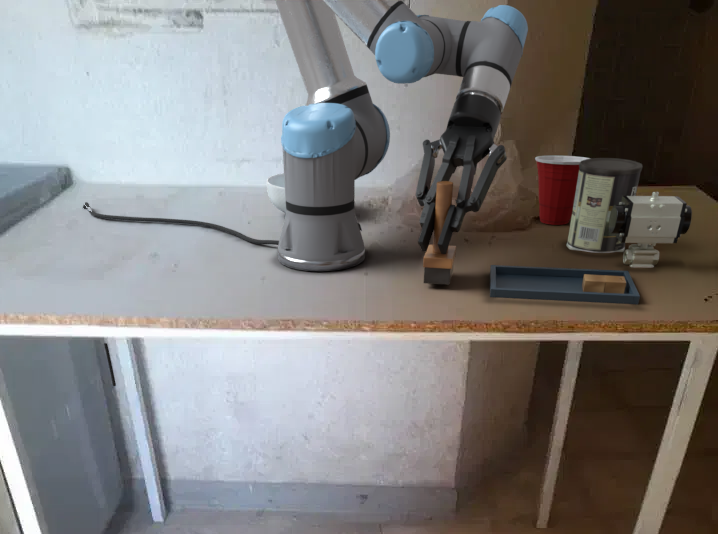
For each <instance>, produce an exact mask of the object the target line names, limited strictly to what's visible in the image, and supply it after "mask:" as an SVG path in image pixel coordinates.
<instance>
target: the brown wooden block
mask: <svg viewBox="0 0 718 534" xmlns="http://www.w3.org/2000/svg"><path fill="white" fill-rule="evenodd" d="M604 287H605V278H604V275H589V274H584V277H583V282H582V288H583V292H598V293H603V292H604Z"/></svg>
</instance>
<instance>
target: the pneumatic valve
mask: <svg viewBox="0 0 718 534" xmlns="http://www.w3.org/2000/svg"><path fill="white" fill-rule="evenodd" d="M692 219H693V210H692V207H691V206H690V205H688V202H686V200H683V199H682V198H681V197H680V196H676V195H675V196H674V195H659V191H652V193H651V195H636V196H622V200H621V202H619V205H614V206H613V208H612V210H611V213H610V218H609V231H610V233H615V236H616V237H617V238H618V240H619V241H620V242H621V243H626V244H630V245H628V249H626V248H625V250H624V251H623V255H622V263H623V264H624V265H627V266H628V265H629V268H637V269H638V268H639V269H643V268H644V269H645V268H647V269H651V268H655V266H656V265H657V264H658V263H659V261H660V251H659V250H658V249H655V248H654V247H655V246H656V245H657V244H678V240H679V238H681V237H682V235H686V234H687V233H688V232H689V229H690V227H691V224H692Z"/></svg>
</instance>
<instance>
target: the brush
mask: <svg viewBox="0 0 718 534" xmlns="http://www.w3.org/2000/svg"><path fill="white" fill-rule="evenodd" d="M453 191H454V182H453V181H450V180H449V181H440V182H437V189H436V205H435V221H434V231H433V239H432V244H429V246H428V249H427V252H425V253H424V256H423V260H422V261H423V263H422V267H423V269H424V270H423V284H429V285H430V284H431V285H447V286H449V285H450V283H451V279H452V276H453V273H454V265H455V264H454V262H455V258H456V255H457V253H456V252H457V245H449V246H448V249H447V252H446V254H441V252H440V250H439V247H438V245H437V244H438V241H439V238H440V235H441V232H442V229H443V226H444V223H445V220H446V217H447V214H448V211H449V208H450V205H453Z"/></svg>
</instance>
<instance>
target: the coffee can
mask: <svg viewBox="0 0 718 534" xmlns="http://www.w3.org/2000/svg"><path fill="white" fill-rule="evenodd" d="M643 167H644V165H643V164H642V162H641V163H640V162H638V161H635V160H632V159H627V158H626V159H625V158H616V157H615V158H614V157H596V158H595V157H593V158H591V159H586V160H583V161H581V162H580V163H579V174H578V180H577V186H576V193H575V199H574V205H573V211H572V216H571V219H570V222H569V230H568V236H567V242H566V247H567V248H568V249H569V250H571V251H582V252H588V253H596V254H610V253H624V252H625V250H626V244H627V243H621V242H620V241H619V240H618V238H617V237H616V236H615V233H610V231H609V218H610V213H611V210H612V208H613V206H614V205H619V202H621V200H622V196H637V192H638V187H639V181H640V177H641V172H642V170H643Z"/></svg>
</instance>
